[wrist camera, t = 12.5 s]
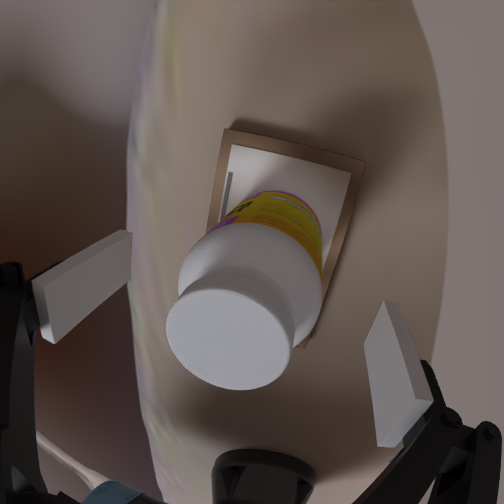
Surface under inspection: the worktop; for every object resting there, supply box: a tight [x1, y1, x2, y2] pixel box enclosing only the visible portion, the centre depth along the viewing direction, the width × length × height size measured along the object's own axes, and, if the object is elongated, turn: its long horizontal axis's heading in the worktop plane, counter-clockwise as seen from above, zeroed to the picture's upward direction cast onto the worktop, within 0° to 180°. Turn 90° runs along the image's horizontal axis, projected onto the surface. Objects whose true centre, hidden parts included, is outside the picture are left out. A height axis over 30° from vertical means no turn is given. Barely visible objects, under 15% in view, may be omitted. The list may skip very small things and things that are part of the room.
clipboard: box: [206, 129, 366, 349], centre depth 23 cm, size 16×10×2 cm, turn 169°
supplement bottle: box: [166, 189, 322, 390], centre depth 16 cm, size 7×7×13 cm
